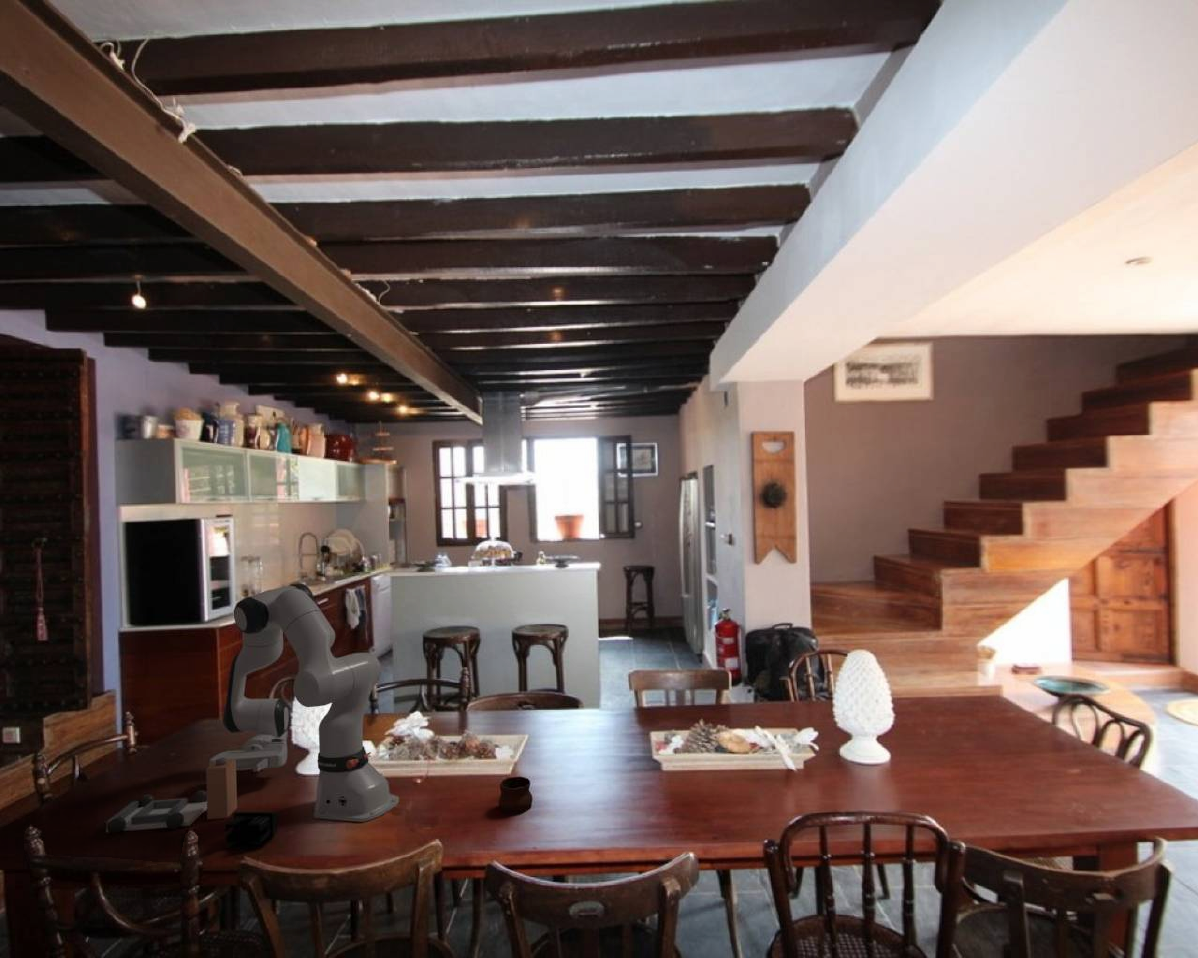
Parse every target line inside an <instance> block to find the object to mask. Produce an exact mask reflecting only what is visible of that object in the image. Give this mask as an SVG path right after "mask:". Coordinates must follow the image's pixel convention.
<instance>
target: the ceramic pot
mask: <svg viewBox="0 0 1198 958" xmlns="http://www.w3.org/2000/svg"><path fill="white" fill-rule="evenodd" d="M530 786H531V781H530V779H528V778H527V777H524V776H513V777H512V776H511V777H506V778H505V779H503V780H502V781H501V782H500V783H499V789H500V795H499V796H497V797H494V798H493V800H494V799H497V798H498V805H499V809H500V810H501V812H502V813H504V814H507V815H518V814H523V813H525V812H528V811H529V810H531V808H532V803H533V799H534V798H533V795H532V793H531V791H530Z"/></svg>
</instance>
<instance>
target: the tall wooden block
mask: <svg viewBox="0 0 1198 958" xmlns="http://www.w3.org/2000/svg"><path fill="white" fill-rule="evenodd" d="M205 774H206V775H205V779H206V783H205V784H206V792H207V801H206V802H207V809H206V812H207V813H206V816H207V820H216V819H218V820H219V819H228V818H229V817H230V816H231V815H232V813H233V812H235V811H236V809H238V796H237V793H238V791H237V770H236V759H231V760H226V758H219V759H217V760H216V761H215V762H214V763H213V764H212V765H210V766H209V765H208V767H207V768H206V769H205Z"/></svg>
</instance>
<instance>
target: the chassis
mask: <svg viewBox="0 0 1198 958" xmlns="http://www.w3.org/2000/svg"><path fill="white" fill-rule="evenodd" d="M205 811H207V790H204V789H203V790H197V791H196V793H195V794H193V796H192V798H191V802H188V797H183V798H171V799H157V800H155V797H154V796H153V795H152V794H145V795H143V796H142V797H140V798H139V799H138V800H135V801H134V800H133V801H131V802H130V803H129V804H128V805H127V806H125V807H123V808H122V809H121V810H119V812H117V813H116V814H114V815H113V816H112V817H110V818H109V819H108V820H106V822H105V833H109V834H111V835H118V834H120V833H121V832H128V831H130V832H131V831H137V830H138V831H140V830H152V829H164V828H165V829H166V828H168V829H169V830H177V829H179V828H180V827H186V826H188V827H189V826H190V825H192V824H193V822H195V821H196V820H197V819H198V818H199V817H200V816H202V814H203V813H204V812H205Z"/></svg>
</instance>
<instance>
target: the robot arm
mask: <svg viewBox="0 0 1198 958" xmlns="http://www.w3.org/2000/svg"><path fill="white" fill-rule="evenodd" d="M233 621H234V622H235V624H236V627H237V628H238V630H239V631H241V635H242V647H241V650H240V651H239V652H237V653H236V654H235V655H234V657H233V659H232V662H231V665H230V670H229V676H228V677H229V678H228V686H227V694H226V700H225V701H226V702H225V707H224V710H223V715H222V724H223V727H224V728H226V730H227V731H229V732H230V734H231V733H232V734H235V733H246V732H256V734H255V735H254V736H251V738H250V739H248V740H247V742H245V743H244V744H243V745H242V747H241V749H238V750H237V749H236V750H227V751H222V752H220V753H218V754H216V755H214V756H213V757H211V758H210V759H209V763H208V767H209V766H210V765H212V764H213V763H214V762H215V761H216V760H217V759H219V758H226V760H231V759H236V771H246V770H252V772H254V773H255V772H260V771H261V770H263V769H272V768H280V767H282V766H284V765H285V764H286V762H287V760H288V744H287V743H288V742H287V739H288V736H289V735H288V729H289V726H290V721H291V711H290V707H289V706H288V704H287V703H286V702H285V700H284V699H282V698H248V697H246V696H245V689H246V682H247V681H246V680H247V676H248V675H249V674H251V673H253V672H256V671H259V670H262V669H266V668H267V667H269V666H271V665H272V664H273V663H275V662H276V661H277V660H278V659H279V658H280V657H281V655H282V653H283V650H284V636H285V637H286V639H287V640H288V642H289V644H290V646H291V647H292V649H293V651H294V653H295V654H296V655H295V656H296V658H297V660H298V672H297V674H296V676H295V678H294V681H293V686H292V687H293V689H292V690H293V695H294V697H295V699H296V700H297V702H298V703H299V704H300V705H301V706H303V707H306V708H314V707H315V708H316V707H324V706H326V705H330V707H329V708H328V709H329V710H328V711H327V713H326V714H325V715H324V716H323V718H322V719H321V720H320V722H319V725H318V738H319V739H318V742H319V745H318V746H319V748H318V749H319V752H318V754H317V768H318V770H319V772H318V780H317V788H316V790H317V791H316V798H315V799H316V800H315V804H314V812H313V818H314V819H322V820H331V821H333V820H334V821H344V822H345V821H346V822H355V823H356V822H358V823H359V822H360V823H363V822H364V823H365V822H368V821H370V820H371V821H372V820H373V819H376V818H378V817H380V816H382V815H385V814H386V813H387V812H389V811H391V810H392V809H393V808H395V807H396V806H397V805H398V804H399V802H400V797H399V796H397V795H395V794H392V793H390V785H389V782H388V780H387V779H386V778H385V776H384V775H383V774H382V773H380V772H379V771H378V770H377V769H376V768H375V766H373V765H372V764H371V763H370V762H369V758H371V757H372V755H370V754H372V752H368V753H367V751H366V748H365V746H364V743H363V742H364V741H363V735H364V734H363V731H364V729H363V727H364V726H363V725H364V715H365V711H366V710H365V709H366V706H367V704H368V701H369V697H370V695H371V693H372V691H373V689H374V687H375V686H376V685H377V684H378V682H379V681H380V678H381V675H382V667H381V662H380V661H379V659H378V658H377V656H376V655H374V654H373V653H370V652H356V653H355V652H354V653H351V654H350V653H349V654H347V655H346V654H345V655H343V656H340V657H335V656H334V654H333V653H332V651H331V648H332V647H333V645H334V643H335V640H336V632H335V630H334V628H333V627H332V626H331V624H330V622H329V621H328V619H327V618H326V616H325V614H324V613H323V612H322V610H321V609H320V608H319V606H318V605H317V603H316V602H315V598H314V595H313V592H312V590H311V589H310V588H309V587H308V586H307V585H305V584H304V583H293V584H292V583H291V584H289V585H286V586H282V587H281V586H280V587H277V588H273V589H267V590H264V591H262V592H259V593H257V594H254V595H252V596H247V597H244V598H242V599H241V600H239V601H238V602H237V603H236V604H235V606H234V609H233Z"/></svg>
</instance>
